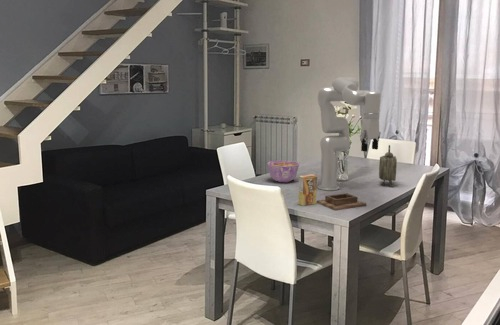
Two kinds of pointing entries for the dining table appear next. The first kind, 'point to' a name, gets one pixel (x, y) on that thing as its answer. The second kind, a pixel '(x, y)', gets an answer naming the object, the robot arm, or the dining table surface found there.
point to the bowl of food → (283, 170)
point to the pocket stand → (341, 201)
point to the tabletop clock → (388, 167)
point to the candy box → (307, 189)
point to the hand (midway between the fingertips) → (369, 150)
